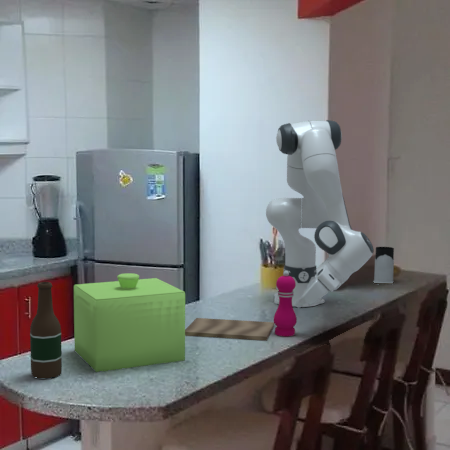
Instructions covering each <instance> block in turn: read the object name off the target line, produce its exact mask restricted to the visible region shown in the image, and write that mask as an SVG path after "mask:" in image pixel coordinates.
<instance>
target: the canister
mask: <svg viewBox="0 0 450 450" xmlns="http://www.w3.org/2000/svg"><path fill="white" fill-rule="evenodd" d="M116 277H117V280H115V281H114V280H113V281H104V282H89V283H80V284H74V285H73V324H74V325H73V326H74V329H73V330H74V333H73V334H74V336H73V337H74V352H75V351H76V352H77V353H78V354H79V355H80V356H81V357H82V358H83V359H84V360H85V361H86V362H87V363H88V364H89V365H90V366H91V367H92V368H93V369H94V370H95V371H94V370H93V371H94V372H95V373H100V372H99V371H102V372H109V371H108V370H110V371H116V369H117V370H123V369H122V368H125V369H129V368H131V369H132V368H139V367H146V366H152V365H153V366H154V365H160V364H168V363H176V362H183V361H184V362H185V361H186V336H185V329H186V292H185V291H184V290H182V289H180V288H178V287H176V286H174V285H172V284H169V283H167V282H165V281H163V280H161V279H159V278H157V277H154V278H153V277H152V278H140V275H139V274H137V273H131V272H130V273H128V272H127V273H120V274H118V275H117V276H116ZM76 352H75V353H76ZM77 353H76V354H77ZM78 354H77V355H78ZM79 355H78V356H79ZM80 356H79V357H80ZM81 357H80V358H81ZM82 358H81V359H82ZM83 359H82V360H83ZM84 360H83V361H84ZM85 361H84V362H85ZM87 363H86V364H87ZM88 364H87V365H88ZM89 365H88V366H89ZM90 366H89V367H90ZM92 368H91V369H92Z"/></svg>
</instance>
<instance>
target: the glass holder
mask: <svg viewBox="0 0 450 450" xmlns="http://www.w3.org/2000/svg"><path fill="white" fill-rule="evenodd" d="M394 253H395V248H394V247H391V246H376V247H375V255H374V256H375V257H374V275H373V276H374V277H373V278H374V279H373V281H372V283H373V282H374V283H393V282H394V266H395V265H394V263H395V258H394V257H395V256H394ZM374 283H373V284H374Z"/></svg>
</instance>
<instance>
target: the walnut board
mask: <svg viewBox="0 0 450 450" xmlns="http://www.w3.org/2000/svg"><path fill="white" fill-rule="evenodd" d="M273 329H275V323H274V321H257V320H240V319H239V320H238V319H222V318H206V317H205V318H204V317H203V318H202V317H195V319H194V320H193V321H192V322H191V323H190V324H189V325H188V326H187V327H185V337H187V336H188V337H202V338H203V337H204V338H219V339H235V340H249V341H250V340H251V341H252V340H253V341H268V339H269V338H270V336H271V333H272V332H273Z"/></svg>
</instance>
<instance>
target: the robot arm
mask: <svg viewBox="0 0 450 450" xmlns="http://www.w3.org/2000/svg"><path fill="white" fill-rule="evenodd" d="M275 139H276V144H277V147H278V149H279V152H281V153H282V154H283V155H287V158H286V160H287V161H286V183H287V185H288V187H289V188H290V189H292V190H293V191H295V192H297V193H299V194H300V195H301V196H303V197H281V198H276V199H271V201H269V203H268V204H267V206H266V209H265V216H266V219H267V222H268V223H269V225H270V226H271V227H273V228H274V229H276V230H277V232H278V233H279V234H280V237H282V238H281V239H282V240H283V244H284V254H285V255H284V257H285V258H284V260H285V263H284V266H283V272H284V271H288V272H289V275H288V276H291V277H292V278H294V280H295V283H296V286H295V288H294V289H293V292H294V293H293V295H294V296H293V297H292V306H293V307H297V309H298V308H299V309H301V307H302V308H305V307H307V308H308V307H315V306H318V305H320V304H324V303H325V299H324V298H323V297H325V296H326V295H328V294H329V292H331V293H332V292H334V291H337V290H338V289H339V288H340V287H341V286H342V285H343V284H344V283H345V282H347V281H348V279H349V278H350V276H351V275H352V274H354V273H355V272H357V271H359V270H360V269H361V268H362V267H363V266H364V265H366V263H367V262H368V261H369V260H370V259H371V257H372V256H373V254H374V246H373V244H372V242H371V240H370V239H369V238H368V236H367V235H366V234H365V233H364V232H362V231H357V230H354V229H353V228H352V226H351V223H350V219H349V215H348V210H347V207H346V202H345V198H344V195H343V189H342V183H341V178H340V177H341V176H340V170H339V165H338V164H339V163H338V159H337V153H336V151H337V150H338V149H339V147H340V146H341V144H342V140H343V133H342V129H341V126H340V124H339V123H338V122H337V121H335V120H329V119H326V120H307V121H299V122H293V123H290V122H288V123H284V124H282V125H280V126H279V128H278V130H277V133H276V137H275ZM300 229H315V231H314V235H313V236H314V237H313V238H314V242H315V243H316V244H315V243H314V242H313V241H312V240H311V239H310V238H307V237H306V236H304V235H302V234H301V232H300V231H299V230H300ZM316 245H317V247H318V248H320V250H322V251H324V252H325V253H326V254H327V255H328V257H327V258H326V259H325V260H324V261H323V262H322V263H321V264H320V265H318V266H317V265H316V258H317V255H316V253H317V247H316ZM275 288H276V290H277V291H279V290H278V288H277V286H276V285H275ZM273 297H274V299H273V300H274V301H273V302H274V303H273V304H274V305H275V304H277V305H279V296H278V292H275V293H274V296H273Z"/></svg>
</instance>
